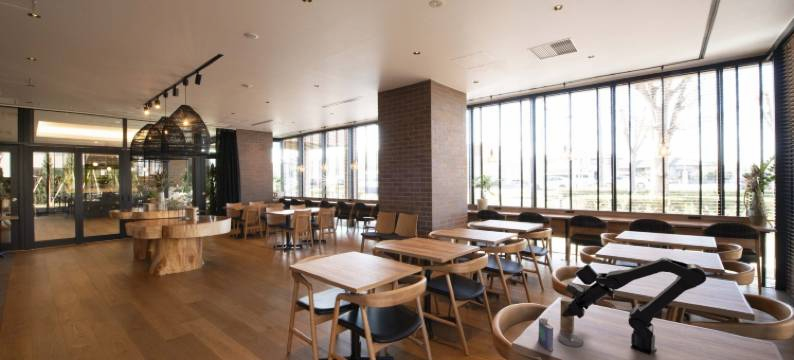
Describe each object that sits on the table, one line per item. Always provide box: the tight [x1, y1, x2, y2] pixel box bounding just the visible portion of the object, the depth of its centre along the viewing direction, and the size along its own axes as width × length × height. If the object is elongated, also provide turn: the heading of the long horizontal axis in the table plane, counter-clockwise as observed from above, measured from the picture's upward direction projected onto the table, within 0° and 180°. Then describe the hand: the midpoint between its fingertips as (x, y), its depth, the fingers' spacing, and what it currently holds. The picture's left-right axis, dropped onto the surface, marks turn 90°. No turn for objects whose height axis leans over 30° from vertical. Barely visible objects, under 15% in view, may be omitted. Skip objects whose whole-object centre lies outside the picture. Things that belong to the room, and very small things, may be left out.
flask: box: [538, 317, 554, 352], centre depth 136 cm, size 9×3×11 cm, turn 2°
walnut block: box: [559, 296, 575, 334], centre depth 148 cm, size 4×4×13 cm
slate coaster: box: [557, 333, 584, 348], centre depth 139 cm, size 9×9×1 cm
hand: (563, 313), depth 149 cm, fingers closed on walnut block, 4 cm apart
